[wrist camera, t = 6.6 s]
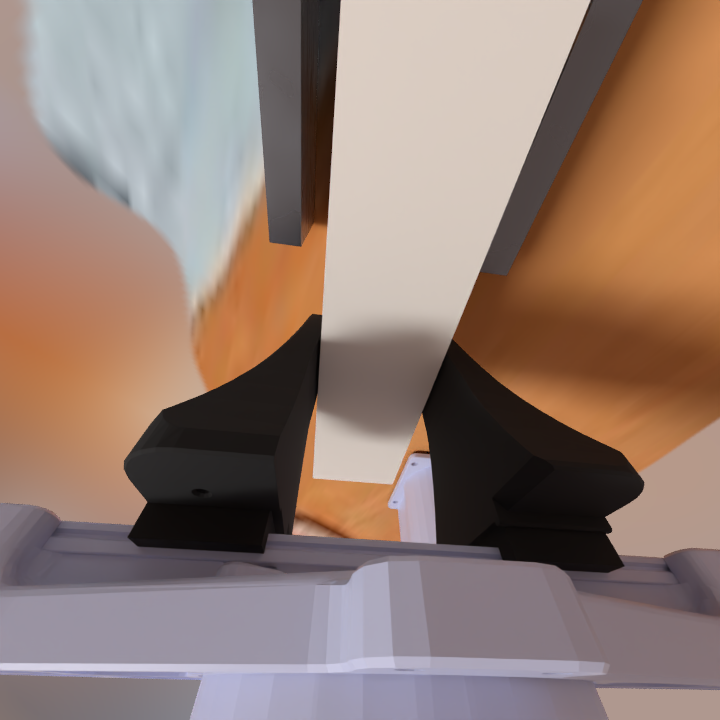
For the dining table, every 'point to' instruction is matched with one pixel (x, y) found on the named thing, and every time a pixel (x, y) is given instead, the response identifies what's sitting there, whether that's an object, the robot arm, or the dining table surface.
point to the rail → (419, 199)
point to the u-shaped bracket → (299, 117)
